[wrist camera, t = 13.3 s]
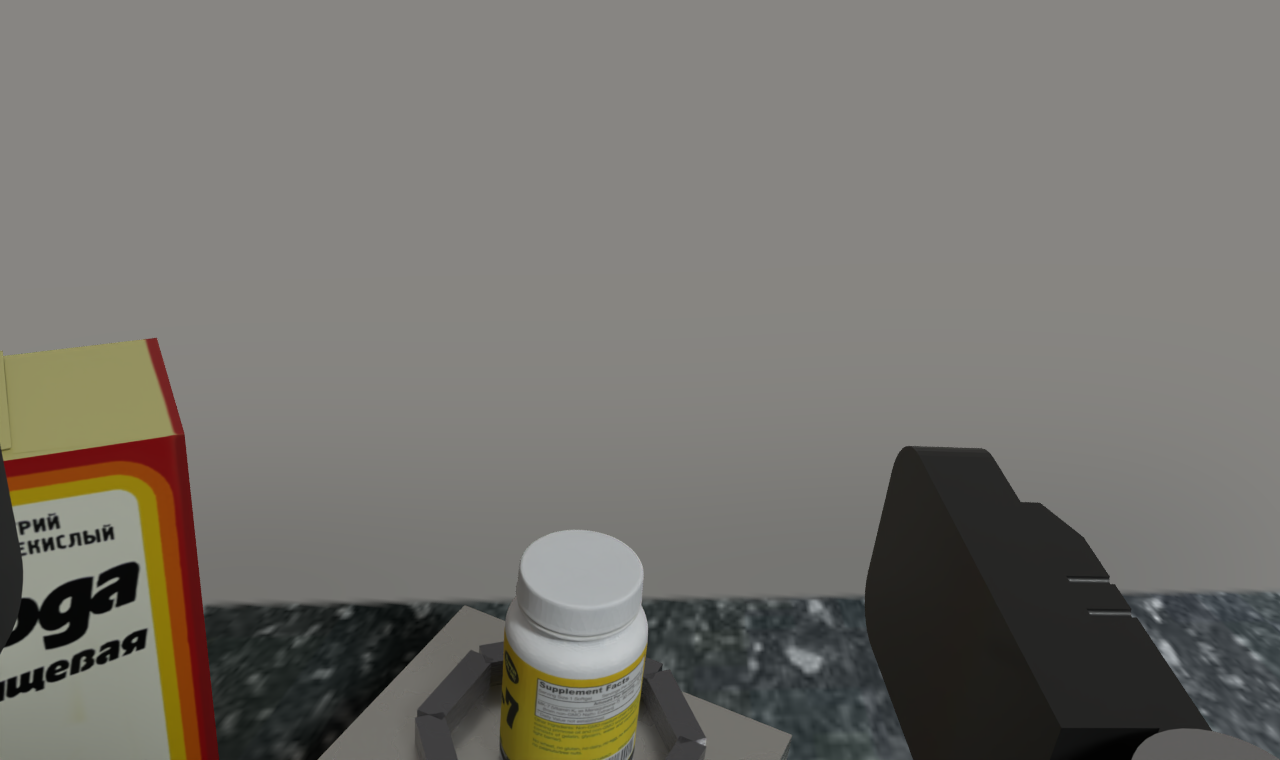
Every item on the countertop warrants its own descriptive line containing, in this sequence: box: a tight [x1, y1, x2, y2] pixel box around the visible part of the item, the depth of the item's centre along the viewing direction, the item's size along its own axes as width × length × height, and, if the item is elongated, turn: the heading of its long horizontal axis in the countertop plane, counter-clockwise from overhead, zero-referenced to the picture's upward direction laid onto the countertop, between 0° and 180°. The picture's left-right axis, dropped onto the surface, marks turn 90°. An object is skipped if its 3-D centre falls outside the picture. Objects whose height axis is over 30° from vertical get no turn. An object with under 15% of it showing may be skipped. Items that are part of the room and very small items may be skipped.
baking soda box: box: [0, 338, 219, 760], centre depth 42 cm, size 10×6×16 cm
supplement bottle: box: [500, 530, 648, 760], centre depth 41 cm, size 5×5×8 cm
